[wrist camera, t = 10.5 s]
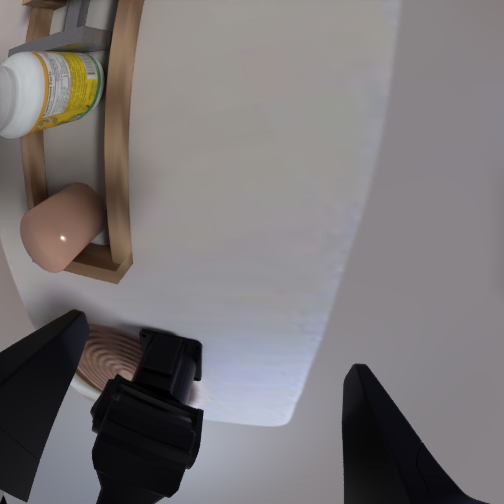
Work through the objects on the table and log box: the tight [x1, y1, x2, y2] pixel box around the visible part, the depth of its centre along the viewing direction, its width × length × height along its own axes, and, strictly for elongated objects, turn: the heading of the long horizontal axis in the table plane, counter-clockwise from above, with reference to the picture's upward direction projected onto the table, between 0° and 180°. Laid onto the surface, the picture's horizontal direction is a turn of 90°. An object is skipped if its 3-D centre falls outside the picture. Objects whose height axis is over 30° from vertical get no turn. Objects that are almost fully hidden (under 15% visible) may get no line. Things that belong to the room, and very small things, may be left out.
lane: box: [21, 0, 144, 284], centre depth 15 cm, size 26×10×4 cm, turn 172°
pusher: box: [8, 0, 113, 58], centre depth 11 cm, size 7×7×4 cm
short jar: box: [20, 183, 106, 273], centre depth 19 cm, size 5×5×6 cm
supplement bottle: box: [0, 51, 105, 139], centre depth 12 cm, size 5×5×10 cm
